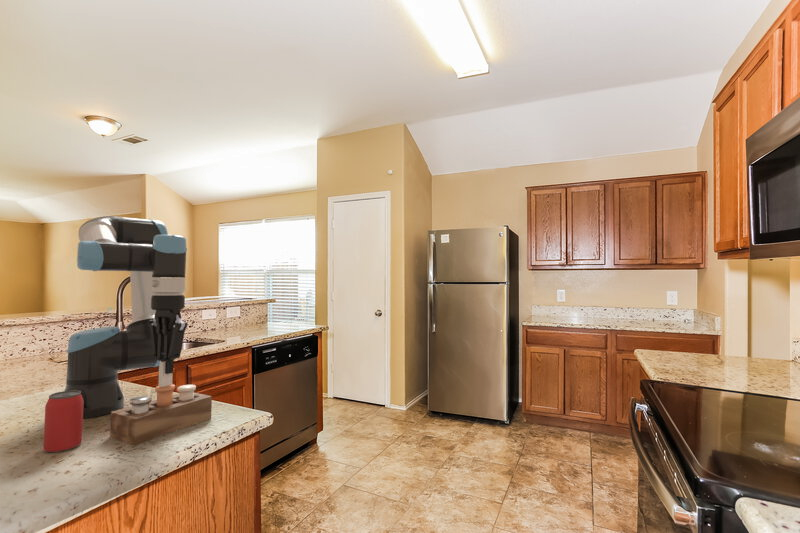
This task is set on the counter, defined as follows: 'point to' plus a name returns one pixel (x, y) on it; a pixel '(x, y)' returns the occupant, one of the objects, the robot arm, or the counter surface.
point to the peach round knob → (164, 395)
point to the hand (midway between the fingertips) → (165, 385)
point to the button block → (159, 419)
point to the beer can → (63, 421)
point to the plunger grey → (140, 404)
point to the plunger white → (186, 392)
